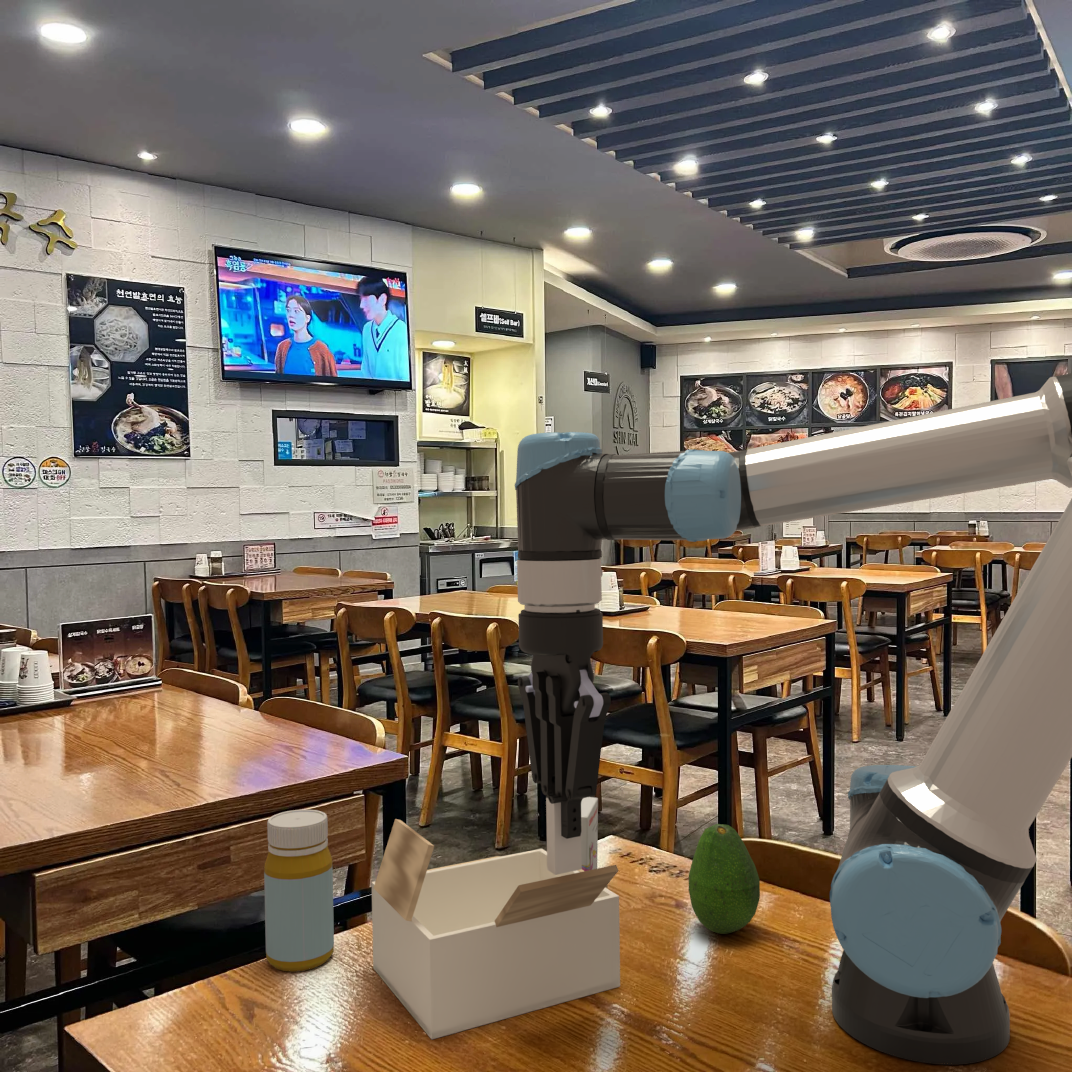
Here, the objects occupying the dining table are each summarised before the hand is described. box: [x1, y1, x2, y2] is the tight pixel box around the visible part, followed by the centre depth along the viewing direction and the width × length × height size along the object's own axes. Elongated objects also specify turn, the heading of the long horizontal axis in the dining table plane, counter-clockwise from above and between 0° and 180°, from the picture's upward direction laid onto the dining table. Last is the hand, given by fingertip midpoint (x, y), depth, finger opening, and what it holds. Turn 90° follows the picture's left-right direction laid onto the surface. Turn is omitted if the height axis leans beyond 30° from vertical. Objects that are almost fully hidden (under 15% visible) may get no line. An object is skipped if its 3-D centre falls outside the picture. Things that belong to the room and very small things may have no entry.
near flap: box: [495, 864, 619, 927], centre depth 90 cm, size 1×10×7 cm
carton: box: [371, 848, 621, 1040], centre depth 101 cm, size 17×21×9 cm
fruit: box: [688, 823, 761, 935], centre depth 110 cm, size 8×8×12 cm
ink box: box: [581, 796, 599, 871], centre depth 119 cm, size 9×5×12 cm, turn 168°
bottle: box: [263, 809, 335, 973], centre depth 105 cm, size 7×7×15 cm
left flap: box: [374, 818, 435, 921], centre depth 95 cm, size 9×1×7 cm, turn 28°
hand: (564, 869), depth 89 cm, fingers closed
